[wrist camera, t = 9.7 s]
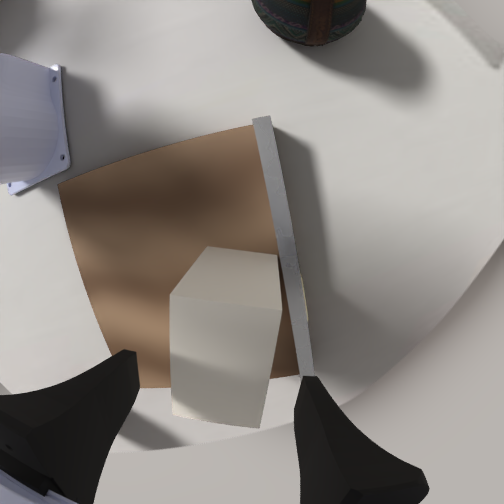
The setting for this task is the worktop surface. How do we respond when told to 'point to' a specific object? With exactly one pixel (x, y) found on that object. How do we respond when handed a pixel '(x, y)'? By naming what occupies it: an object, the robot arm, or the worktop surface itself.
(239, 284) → the carton
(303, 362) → the rail
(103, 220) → the brown flat panel
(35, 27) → the worktop surface
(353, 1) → the mate gourd
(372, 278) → the worktop surface
